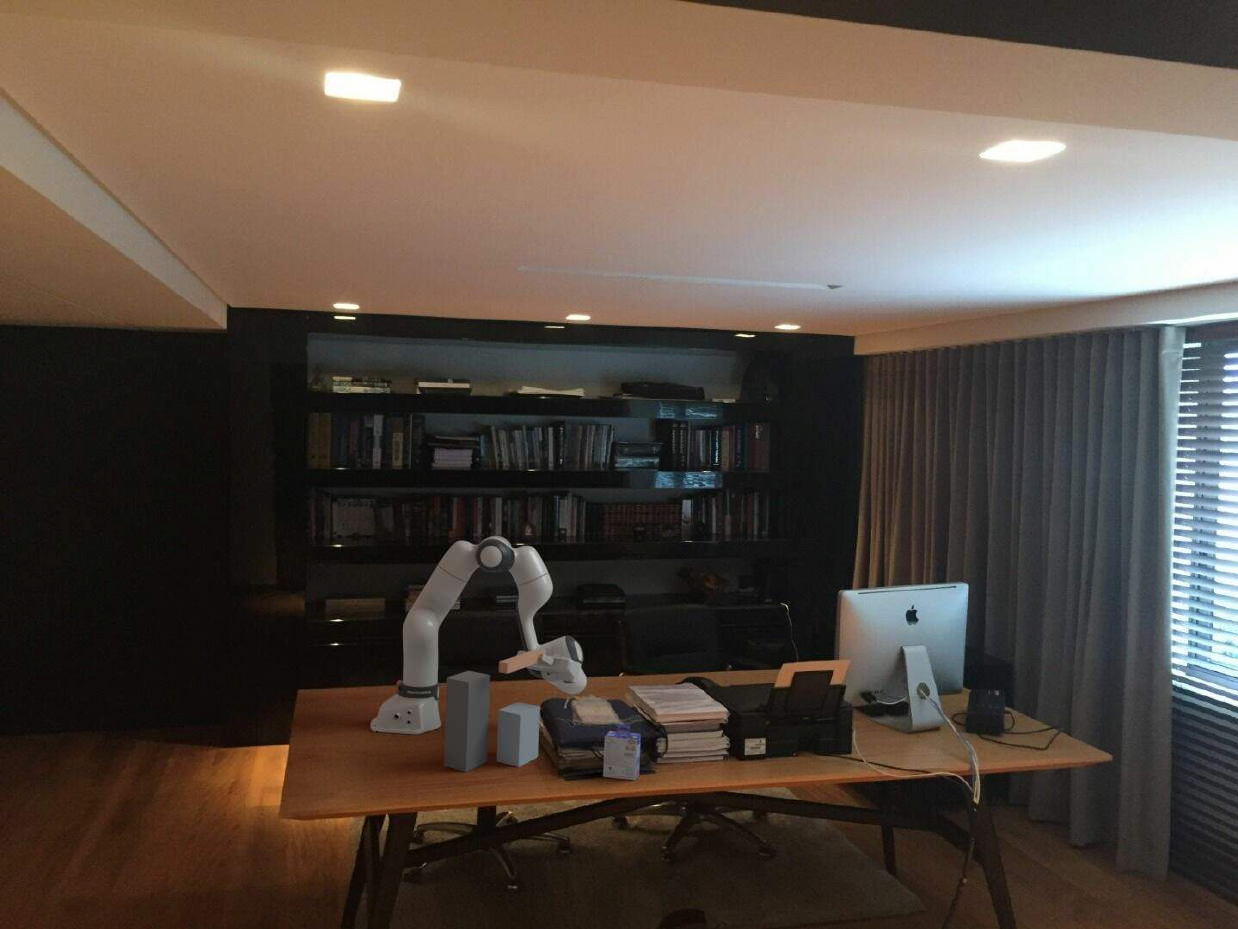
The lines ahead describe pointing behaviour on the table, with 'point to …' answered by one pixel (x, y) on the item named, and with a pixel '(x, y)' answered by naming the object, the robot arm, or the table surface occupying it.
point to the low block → (518, 734)
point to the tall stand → (466, 720)
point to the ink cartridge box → (621, 754)
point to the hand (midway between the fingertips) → (534, 655)
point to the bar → (520, 661)
